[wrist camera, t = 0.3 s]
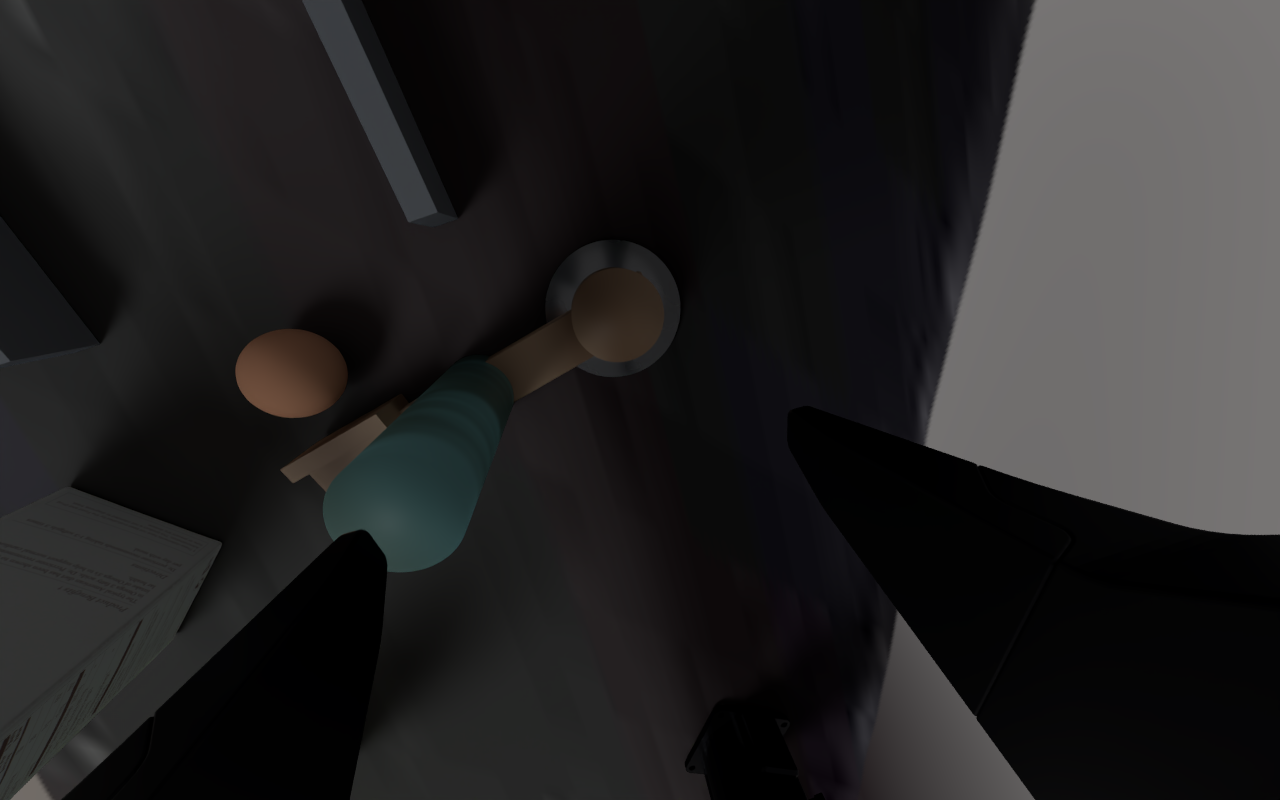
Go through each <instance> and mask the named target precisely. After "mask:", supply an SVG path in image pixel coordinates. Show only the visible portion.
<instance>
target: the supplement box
mask: <svg viewBox="0 0 1280 800" xmlns="http://www.w3.org/2000/svg"><path fill="white" fill-rule="evenodd" d="M221 546H222V543H221V542H220V541H217V540H214V539H211V538H208V537H205V536H202V535H200V534H197V533H194V532H191V531H188V530H186V529H183V528H180V527H178V526H175V525H172V524H170V523H167V522H164V521H161V520H159V519H156V518H153V517H150V516H148V515H145V514H142V513H139V512H137V511H134V510H131V509H128V508H126V507H123V506H120V505H118V504H115V503H112V502H110V501H107V500H104V499H101V498H99V497H96V496H93V495H90V494H88V493H85V492H82V491H80V490H77V489H74V488H72V487H65V488H63V489H61V490H59V491H56V492H54V493H52V494H50V495H48V496H46V497H44V498H42V499H39V500H37V501H35V502H33V503H31V504H29V505H27V506H25V507H22V508H20V509H18V510H16V511H14V512H12V513H10V514H8V515H5V516H3V517H1V518H0V800H10V799H11V798H12V797H13V796H14V795H15V794H16V793H17V792H18V791H19V790H20V789H21V788H22V787H23V786H24V785H25V784H26V783H27V782H28V781H29V780H30V779H31V778H32V777H33V776H34V775H35V774H36V773H37V772H38V771H39V770H40V769H41V768H42V767H43V766H44V765H45V764H46V763H47V762H49V761H50V760H51V759H52V758H53V757H54V756H55V755H56V754H57V753H58V752H59V751H60V750H61V749H62V748H63V747H64V746H65V745H66V744H67V743H68V742H69V741H70V740H71V739H72V738H73V737H74V736H75V735H76V734H77V733H78V732H79V731H80V730H81V729H82V728H83V727H84V726H85V725H87V724H88V723H89V722H90V721H91V720H92V719H93V718H94V717H95V716H96V715H97V714H98V713H99V712H100V711H101V710H102V709H103V708H104V707H105V706H106V705H107V704H108V703H109V702H110V701H111V700H112V699H113V698H114V697H115V696H116V695H117V694H118V693H119V692H120V691H121V690H122V689H123V688H124V687H125V686H126V685H127V684H128V683H130V682H131V681H132V680H133V679H134V678H135V677H136V676H137V675H138V674H139V673H140V672H141V671H142V670H143V669H144V668H145V667H146V666H147V665H148V664H149V663H150V662H151V661H152V660H153V659H154V658H155V657H156V656H157V655H158V654H159V653H160V652H161V651H162V650H163V649H164V648H165V647H166V646H167V645H168V644H169V643H170V642H171V641H172V640H173V639H174V637H175V635H176V633H177V631H178V629H179V627H180V625H181V623H182V621H183V620H184V618H185V616H186V614H187V612H188V610H189V608H190V606H191V604H192V602H193V600H194V598H195V596H196V595H197V593H198V591H199V589H200V587H201V585H202V583H203V581H204V579H205V577H206V576H207V574H208V572H209V570H210V568H211V566H212V564H213V562H214V560H215V558H216V556H217V554H218V552H219V550H220V548H221Z"/></svg>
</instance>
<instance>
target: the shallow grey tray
mask: <svg viewBox="0 0 1280 800" xmlns="http://www.w3.org/2000/svg"><path fill="white" fill-rule="evenodd" d="M302 1H303V3H304V5H305V7H306V9H307V12H308V14H309V16H310V18H311V20H312V22H313V24H314V26H315V28H316V30H317V32H318V34H319V37H320V39H321V41H322V43H323V45H324V47H325V49H326V51H327V53H328V55H329V57H330V59H331V62H332V64H333V66H334V68H335V70H336V72H337V74H338V76H339V78H340V80H341V82H342V84H343V87H344V89H345V91H346V93H347V95H348V97H349V99H350V101H351V103H352V105H353V107H354V109H355V111H356V114H357V116H358V118H359V120H360V122H361V124H362V126H363V128H364V130H365V132H366V134H367V136H368V139H369V141H370V143H371V145H372V147H373V149H374V151H375V153H376V155H377V157H378V159H379V161H380V164H381V166H382V168H383V170H384V172H385V174H386V176H387V178H388V180H389V182H390V184H391V186H392V189H393V191H394V193H395V195H396V197H397V199H398V201H399V203H400V205H401V207H402V209H403V211H404V213H405V216H406V218H407V220H408V222H410V223H415V224H420V225H425V226H430V227H436V226H439V225H442V224H445V223H447V222H450V221H453V220H456V219H458V217H457V215H456V212H455V210H454V208H453V206H452V203H451V201H450V199H449V197H448V194H447V192H446V190H445V188H444V185H443V183H442V181H441V179H440V176H439V174H438V172H437V170H436V167H435V165H434V163H433V160H432V158H431V156H430V154H429V151H428V149H427V147H426V145H425V142H424V140H423V138H422V136H421V133H420V131H419V129H418V127H417V124H416V122H415V120H414V118H413V115H412V113H411V111H410V108H409V106H408V104H407V102H406V99H405V97H404V95H403V93H402V90H401V88H400V86H399V84H398V81H397V79H396V77H395V75H394V72H393V70H392V68H391V66H390V63H389V61H388V59H387V57H386V54H385V52H384V50H383V47H382V45H381V43H380V41H379V38H378V36H377V34H376V32H375V29H374V27H373V25H372V23H371V20H370V18H369V16H368V14H367V11H366V9H365V7H364V5H363V2H362V0H302ZM99 344H100V343H99V342H98V341H97V339H96V338H95V337H94V335H93V334H92V333H91V332H90V330H89V329H88V328H87V326H86V325H85V324H84V323H83V321H82V320H81V319H80V317H79V316H78V315H77V314H76V312H75V311H74V310H73V308H72V307H71V306H70V305H69V303H68V302H67V301H66V299H65V298H64V297H63V296H62V294H61V293H60V292H59V291H58V289H57V288H56V287H55V285H54V284H53V283H52V282H51V280H50V279H49V278H48V276H47V275H46V274H45V273H44V271H43V270H42V269H41V267H40V266H39V265H38V264H37V262H36V261H35V260H34V258H33V257H32V256H31V255H30V253H29V252H28V251H27V249H26V248H25V247H24V246H23V244H22V243H21V242H20V240H19V239H18V238H17V237H16V235H15V234H14V233H13V231H12V230H11V229H10V228H9V226H8V225H7V224H6V223H5V221H4V220H3V219H2V217H1V216H0V368H2V367H7V366H12V365H17V364H22V363H27V362H32V361H37V360H42V359H47V358H52V357H57V356H62V355H67V354H72V353H76V352H79V351H82V350H84V349H87V348H90V347H93V346H96V345H99Z"/></svg>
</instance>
